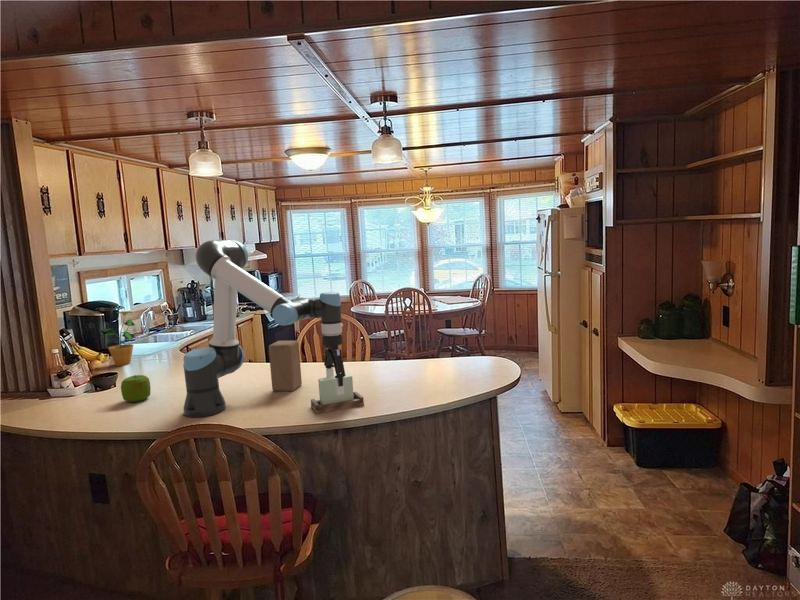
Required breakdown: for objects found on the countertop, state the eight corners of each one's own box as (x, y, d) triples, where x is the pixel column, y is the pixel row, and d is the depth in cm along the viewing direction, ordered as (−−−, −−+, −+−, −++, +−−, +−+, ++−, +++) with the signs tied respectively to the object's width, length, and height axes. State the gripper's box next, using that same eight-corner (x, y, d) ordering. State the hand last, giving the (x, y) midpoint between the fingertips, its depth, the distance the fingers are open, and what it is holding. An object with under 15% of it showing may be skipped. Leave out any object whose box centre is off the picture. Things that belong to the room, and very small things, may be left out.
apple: (124, 398, 225) (121, 373, 223) (152, 394, 228) (149, 370, 227) (121, 406, 214) (117, 379, 213) (150, 401, 218) (147, 376, 217)
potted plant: (148, 361, 297) (142, 308, 293) (116, 369, 281) (109, 313, 277) (129, 359, 306) (123, 307, 302) (97, 366, 290) (90, 312, 286)
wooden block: (293, 391, 221) (289, 344, 219) (271, 391, 223) (267, 345, 221) (302, 384, 231) (299, 339, 228) (281, 384, 233) (277, 340, 230)
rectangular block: (322, 407, 195) (320, 381, 194) (320, 404, 199) (318, 378, 197) (353, 402, 199) (352, 376, 198) (350, 399, 203) (349, 373, 202)
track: (316, 413, 192) (316, 405, 191) (311, 406, 200) (310, 399, 199) (364, 405, 198) (363, 397, 198) (356, 398, 207) (356, 391, 206)
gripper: (352, 338, 186) (355, 396, 188) (333, 327, 209) (336, 380, 211) (331, 340, 183) (334, 400, 186) (314, 329, 206) (317, 382, 208)
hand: (335, 389), depth 198 cm, fingers open, 13 cm apart
